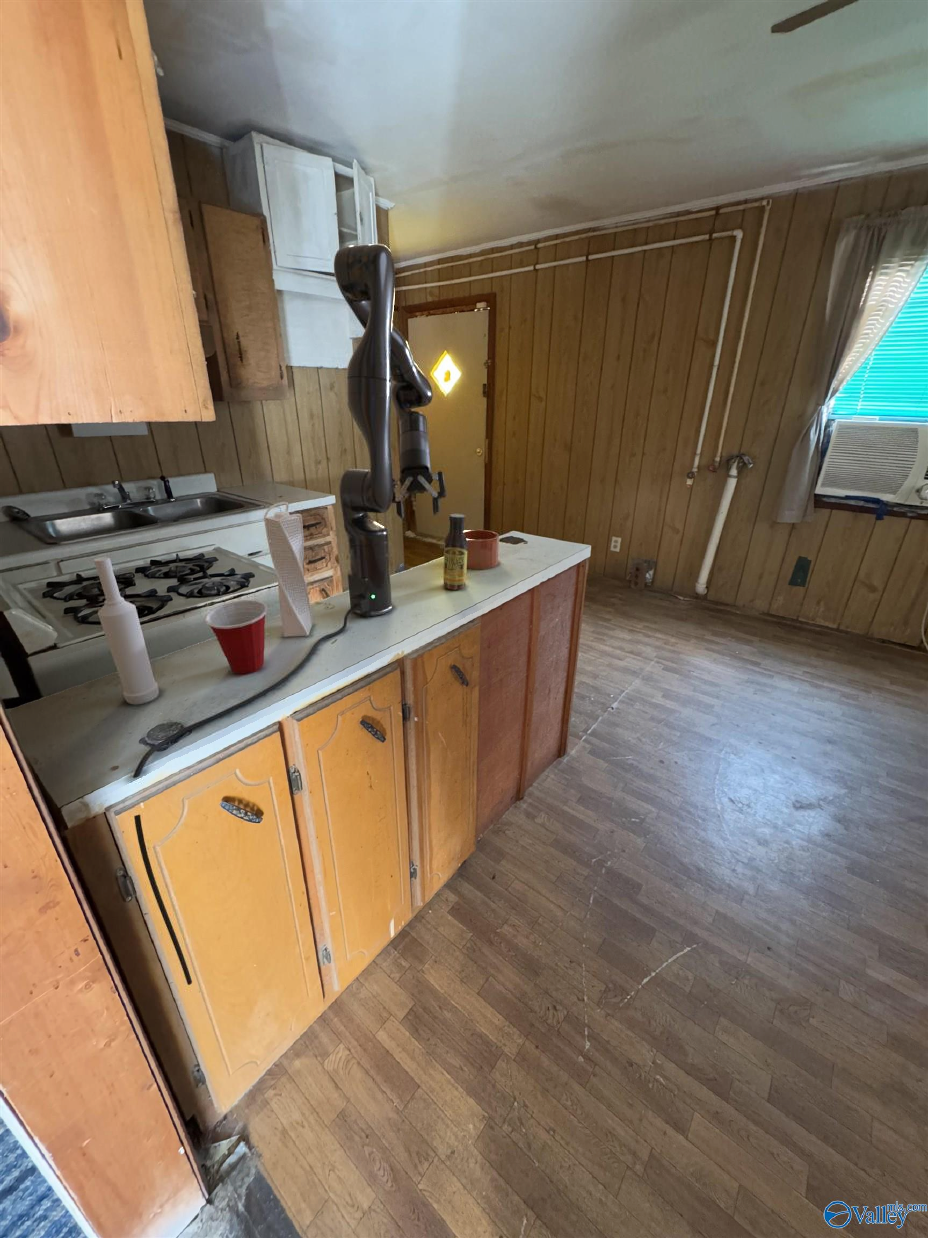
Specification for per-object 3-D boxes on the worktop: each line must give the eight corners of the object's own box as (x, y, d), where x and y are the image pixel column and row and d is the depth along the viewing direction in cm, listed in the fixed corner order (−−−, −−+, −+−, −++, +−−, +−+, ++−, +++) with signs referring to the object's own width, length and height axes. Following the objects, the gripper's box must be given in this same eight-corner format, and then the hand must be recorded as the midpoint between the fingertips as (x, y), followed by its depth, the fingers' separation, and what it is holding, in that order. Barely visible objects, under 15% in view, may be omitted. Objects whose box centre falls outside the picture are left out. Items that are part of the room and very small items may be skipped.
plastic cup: (203, 677, 94) (189, 618, 89) (242, 651, 103) (231, 596, 98) (252, 686, 91) (240, 626, 86) (288, 658, 100) (279, 603, 95)
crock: (480, 572, 150) (481, 542, 146) (449, 563, 157) (448, 535, 154) (506, 562, 159) (507, 534, 155) (474, 554, 166) (475, 527, 163)
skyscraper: (285, 623, 115) (267, 501, 104) (318, 622, 116) (303, 500, 105) (277, 639, 108) (256, 509, 97) (313, 637, 109) (296, 508, 97)
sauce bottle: (441, 590, 136) (440, 517, 128) (445, 582, 141) (445, 512, 133) (465, 591, 135) (465, 518, 127) (468, 583, 140) (469, 513, 132)
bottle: (123, 708, 84) (77, 565, 74) (128, 692, 89) (85, 556, 78) (158, 701, 86) (118, 561, 76) (161, 686, 90) (124, 552, 80)
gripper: (383, 450, 124) (386, 513, 121) (440, 443, 122) (444, 507, 120) (391, 463, 131) (394, 523, 129) (445, 457, 129) (449, 517, 127)
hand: (418, 515), depth 124 cm, fingers open, 8 cm apart
